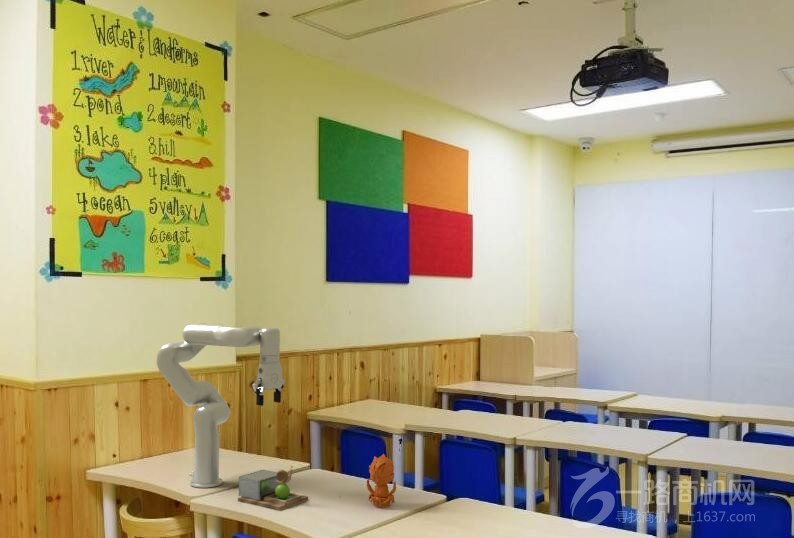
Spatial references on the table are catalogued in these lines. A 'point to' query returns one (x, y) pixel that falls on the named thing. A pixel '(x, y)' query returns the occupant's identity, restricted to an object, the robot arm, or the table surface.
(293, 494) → the board
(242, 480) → the block
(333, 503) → the table surface
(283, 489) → the snail figurine
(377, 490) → the orange figurine
